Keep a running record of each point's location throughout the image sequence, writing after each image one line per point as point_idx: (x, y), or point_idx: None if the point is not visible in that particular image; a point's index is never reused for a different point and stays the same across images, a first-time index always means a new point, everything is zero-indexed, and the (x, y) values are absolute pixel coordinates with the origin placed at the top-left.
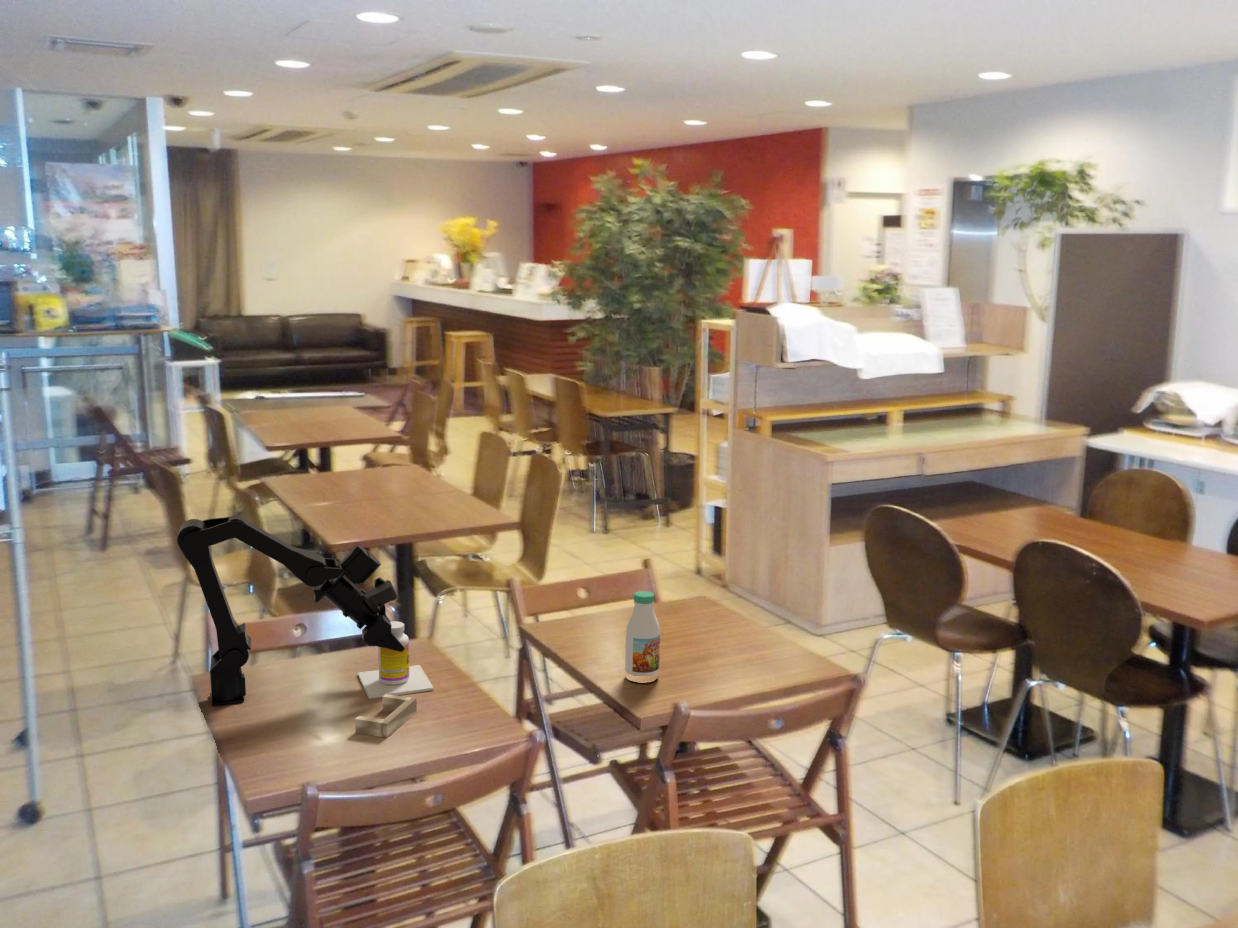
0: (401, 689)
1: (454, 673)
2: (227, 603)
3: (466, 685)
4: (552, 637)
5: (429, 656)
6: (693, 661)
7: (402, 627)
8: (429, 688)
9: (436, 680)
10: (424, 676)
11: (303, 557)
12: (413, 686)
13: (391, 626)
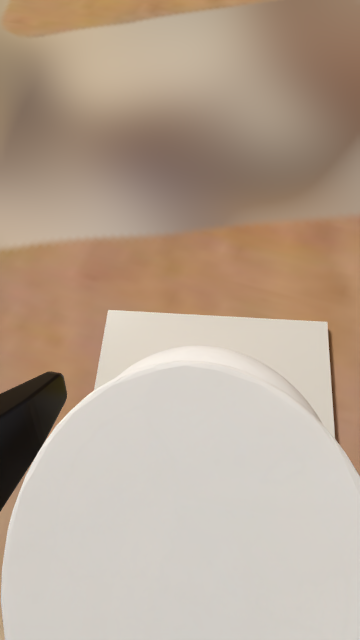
0: None
1: (206, 233)
2: None
3: (313, 225)
4: (89, 8)
5: (45, 263)
6: None
7: (314, 419)
8: (327, 337)
9: (240, 294)
10: (213, 323)
11: None
12: (294, 385)
13: (269, 638)
